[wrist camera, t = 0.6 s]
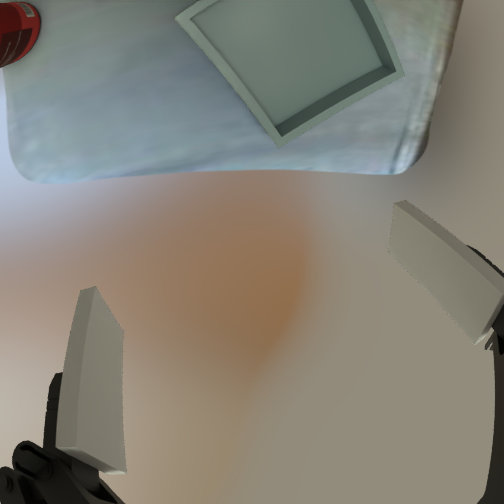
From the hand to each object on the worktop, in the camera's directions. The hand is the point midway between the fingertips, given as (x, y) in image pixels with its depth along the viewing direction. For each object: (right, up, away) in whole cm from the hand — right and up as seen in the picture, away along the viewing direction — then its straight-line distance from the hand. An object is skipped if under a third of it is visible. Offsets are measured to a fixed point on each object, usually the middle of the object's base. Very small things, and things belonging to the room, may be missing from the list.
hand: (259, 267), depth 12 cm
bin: (+4, +24, +13) cm, 28 cm away
